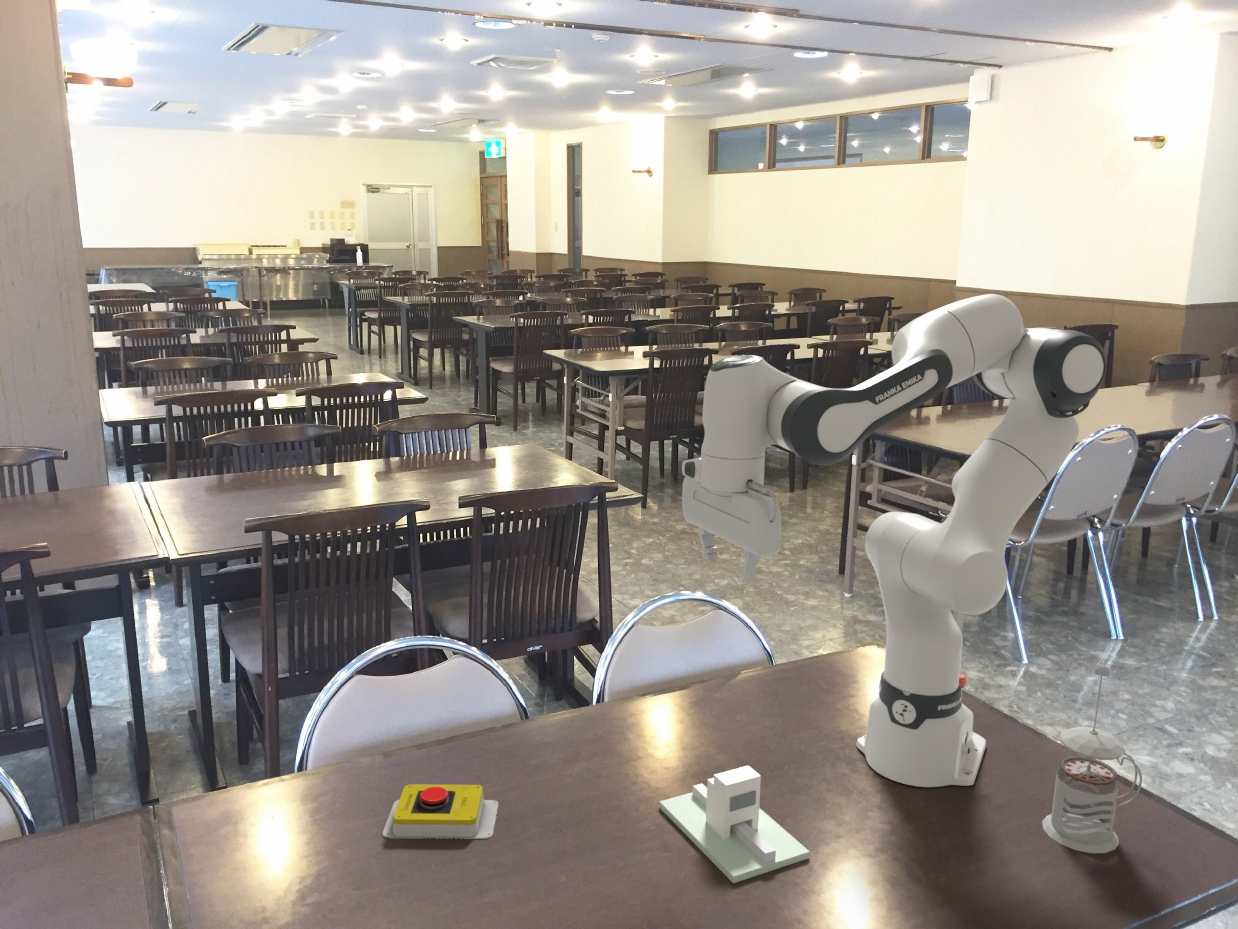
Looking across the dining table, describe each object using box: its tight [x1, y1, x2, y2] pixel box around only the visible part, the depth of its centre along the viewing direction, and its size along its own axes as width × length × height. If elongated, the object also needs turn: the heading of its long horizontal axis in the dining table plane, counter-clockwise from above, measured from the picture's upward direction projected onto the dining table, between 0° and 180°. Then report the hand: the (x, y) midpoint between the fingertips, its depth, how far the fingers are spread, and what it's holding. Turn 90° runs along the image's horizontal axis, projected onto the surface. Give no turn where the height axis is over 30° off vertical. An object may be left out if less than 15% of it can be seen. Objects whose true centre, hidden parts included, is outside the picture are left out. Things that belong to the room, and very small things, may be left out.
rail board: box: [658, 783, 810, 884], centre depth 136 cm, size 19×12×2 cm, turn 27°
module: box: [706, 765, 762, 839], centre depth 135 cm, size 5×6×8 cm
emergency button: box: [382, 783, 499, 840], centre depth 138 cm, size 9×4×15 cm
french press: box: [1041, 664, 1143, 854], centre depth 135 cm, size 10×12×25 cm
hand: (727, 568), depth 140 cm, fingers open, 8 cm apart
